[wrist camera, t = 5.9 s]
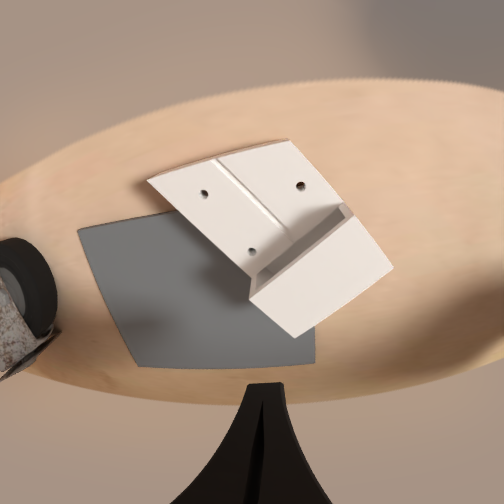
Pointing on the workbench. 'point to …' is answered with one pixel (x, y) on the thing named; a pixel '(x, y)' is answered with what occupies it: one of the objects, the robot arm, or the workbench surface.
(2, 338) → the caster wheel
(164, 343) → the rubber mat
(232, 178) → the white angled block
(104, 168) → the workbench surface
